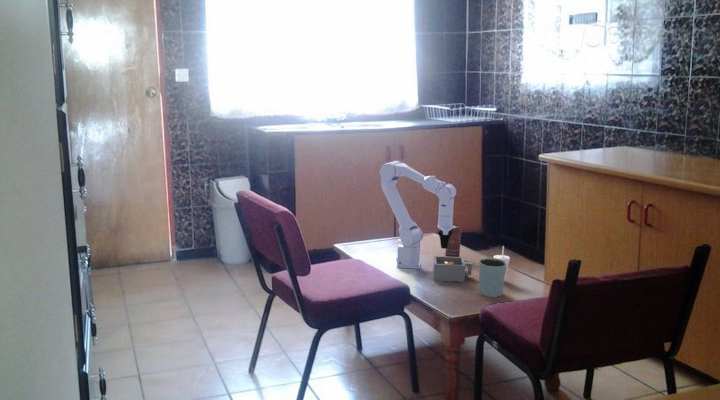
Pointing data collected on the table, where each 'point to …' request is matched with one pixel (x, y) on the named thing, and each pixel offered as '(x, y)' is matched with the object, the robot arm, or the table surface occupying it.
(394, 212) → the robot arm
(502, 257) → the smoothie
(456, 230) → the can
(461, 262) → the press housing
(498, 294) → the teal plant pot
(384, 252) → the table surface
